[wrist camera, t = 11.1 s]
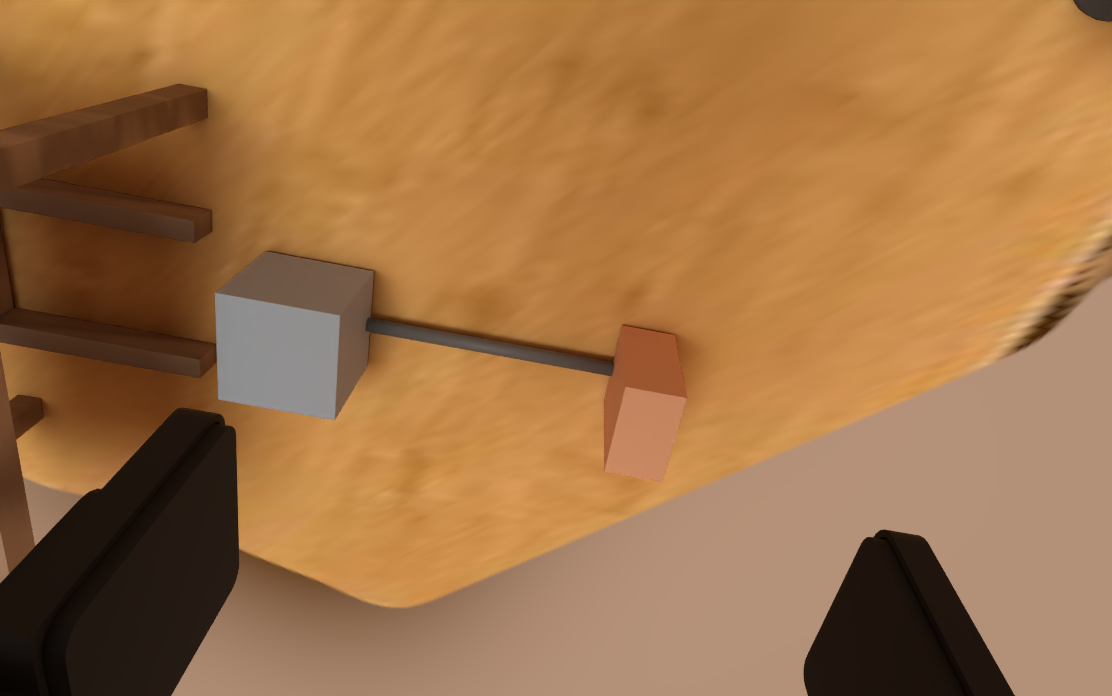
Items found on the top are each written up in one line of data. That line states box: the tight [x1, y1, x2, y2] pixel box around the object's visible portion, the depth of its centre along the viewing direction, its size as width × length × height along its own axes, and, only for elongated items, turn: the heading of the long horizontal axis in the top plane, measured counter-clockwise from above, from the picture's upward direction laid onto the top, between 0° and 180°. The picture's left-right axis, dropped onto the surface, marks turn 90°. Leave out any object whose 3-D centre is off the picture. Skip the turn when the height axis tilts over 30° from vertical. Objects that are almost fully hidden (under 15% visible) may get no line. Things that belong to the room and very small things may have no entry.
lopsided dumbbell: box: [215, 251, 687, 482], centre depth 40 cm, size 6×23×7 cm, turn 80°
